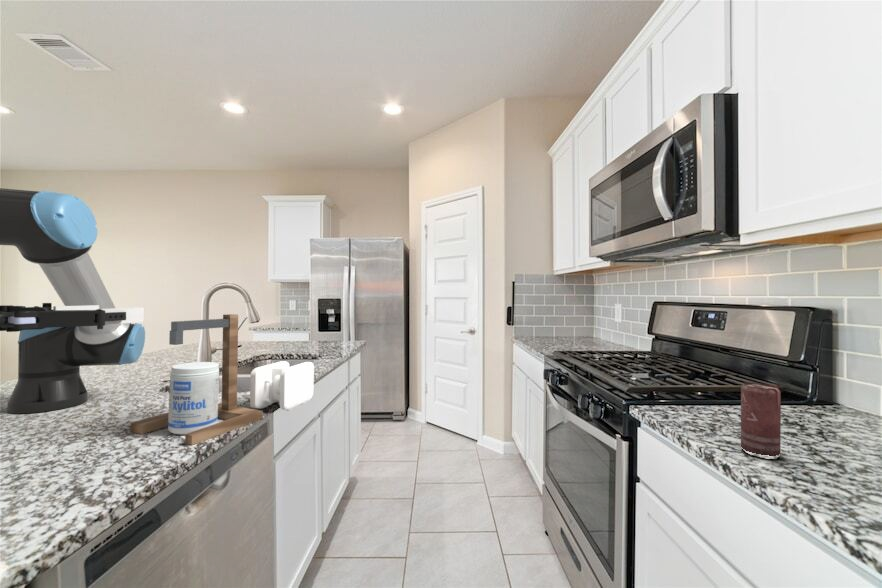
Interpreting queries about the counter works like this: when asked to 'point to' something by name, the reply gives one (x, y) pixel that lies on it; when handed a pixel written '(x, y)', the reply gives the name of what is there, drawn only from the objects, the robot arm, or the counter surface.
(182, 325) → the hook arm
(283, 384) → the cable organizer
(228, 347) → the wooden hook stand
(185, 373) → the supplement tub
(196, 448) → the counter surface
